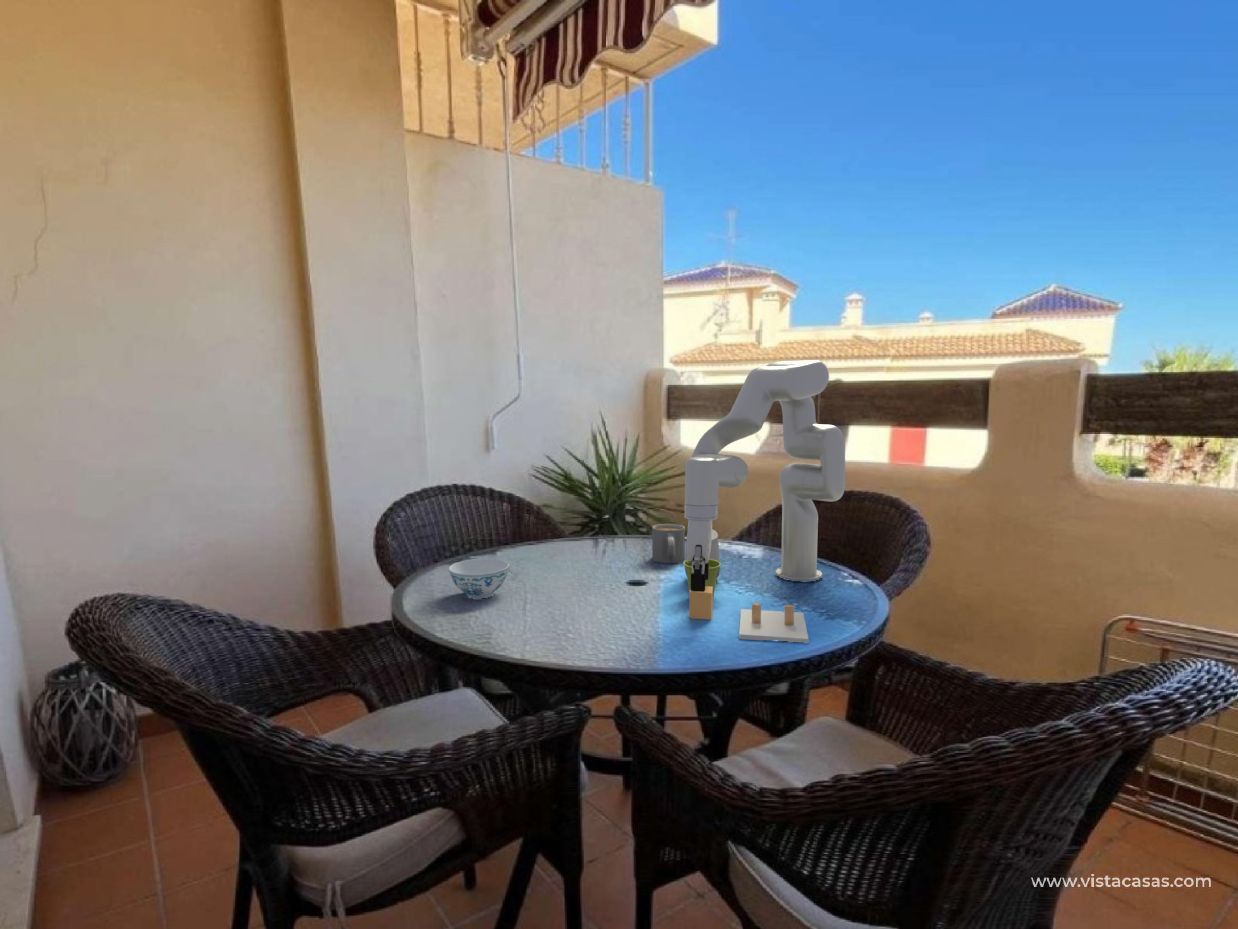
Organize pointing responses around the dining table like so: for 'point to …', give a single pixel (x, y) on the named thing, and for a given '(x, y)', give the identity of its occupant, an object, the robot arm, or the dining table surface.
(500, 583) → the chinaware
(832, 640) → the dining table surface
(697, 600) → the tan cardboard-like box
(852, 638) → the dining table surface
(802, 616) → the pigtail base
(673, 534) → the coffee mug
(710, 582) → the plant pot
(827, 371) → the robot arm
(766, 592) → the dining table surface
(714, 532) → the smart speaker
